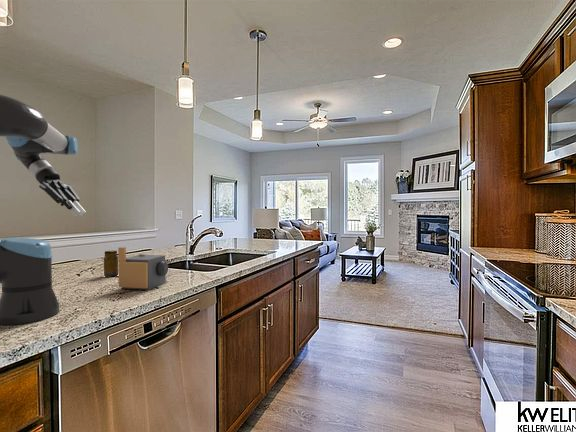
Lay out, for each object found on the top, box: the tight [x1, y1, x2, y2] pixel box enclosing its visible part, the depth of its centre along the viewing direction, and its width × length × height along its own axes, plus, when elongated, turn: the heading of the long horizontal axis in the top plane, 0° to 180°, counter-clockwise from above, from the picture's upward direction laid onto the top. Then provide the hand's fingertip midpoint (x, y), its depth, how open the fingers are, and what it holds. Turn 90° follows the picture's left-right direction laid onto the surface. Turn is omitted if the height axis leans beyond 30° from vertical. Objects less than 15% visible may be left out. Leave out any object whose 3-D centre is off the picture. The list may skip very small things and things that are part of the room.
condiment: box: [103, 250, 119, 278], centre depth 152 cm, size 7×8×12 cm
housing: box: [121, 253, 169, 291], centre depth 132 cm, size 12×14×13 cm
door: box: [117, 246, 148, 288], centre depth 126 cm, size 1×12×16 cm, turn 80°
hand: (80, 214), depth 129 cm, fingers open, 2 cm apart
